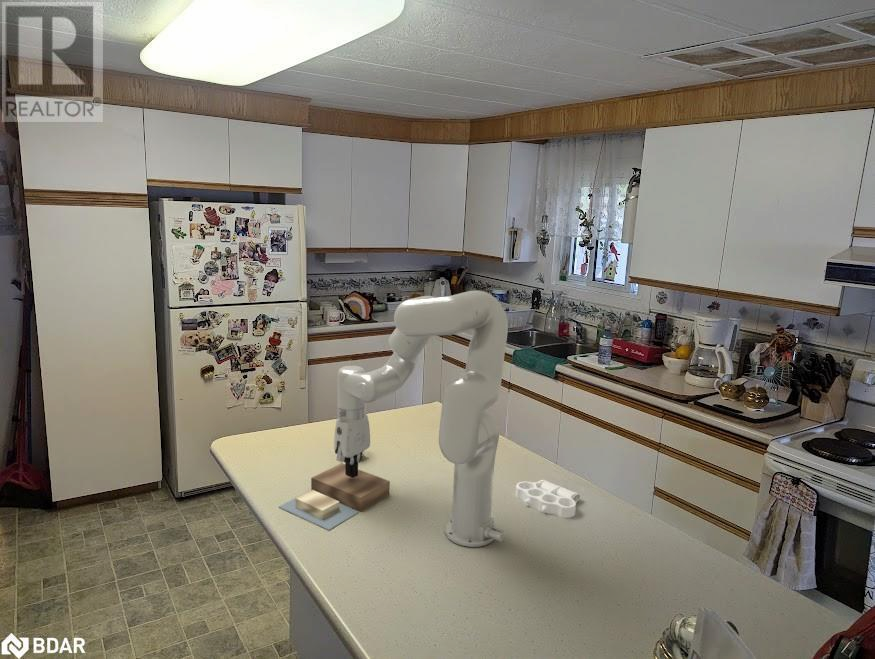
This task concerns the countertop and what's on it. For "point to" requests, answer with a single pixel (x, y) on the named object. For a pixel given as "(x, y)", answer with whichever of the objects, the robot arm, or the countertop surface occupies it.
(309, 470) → the countertop surface
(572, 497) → the knuckle duster
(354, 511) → the slate mat
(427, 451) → the countertop surface
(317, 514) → the maple tile
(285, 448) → the countertop surface
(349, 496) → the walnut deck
